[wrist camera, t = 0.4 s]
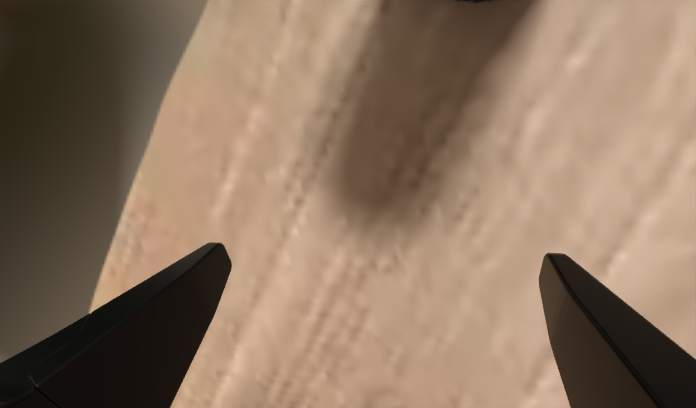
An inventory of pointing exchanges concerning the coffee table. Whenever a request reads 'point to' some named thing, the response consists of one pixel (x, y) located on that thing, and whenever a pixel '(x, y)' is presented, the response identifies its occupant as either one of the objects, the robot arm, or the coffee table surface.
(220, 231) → the coffee table surface
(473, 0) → the storage jar
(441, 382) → the coffee table surface
